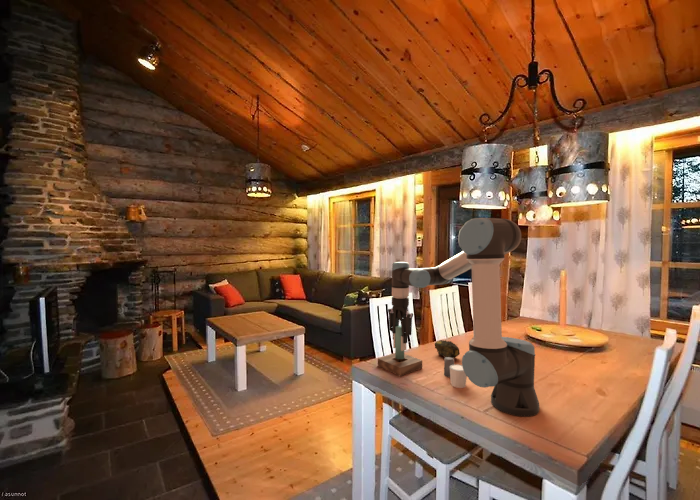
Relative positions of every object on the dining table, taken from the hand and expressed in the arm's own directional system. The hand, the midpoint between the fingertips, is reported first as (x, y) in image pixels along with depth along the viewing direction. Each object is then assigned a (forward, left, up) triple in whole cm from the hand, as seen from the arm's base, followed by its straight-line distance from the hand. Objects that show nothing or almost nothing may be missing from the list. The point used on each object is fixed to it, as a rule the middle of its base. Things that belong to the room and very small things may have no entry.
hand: (399, 348), depth 155 cm
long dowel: (0, 0, -4) cm, 4 cm away
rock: (-5, -28, -9) cm, 30 cm away
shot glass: (-27, -5, -9) cm, 29 cm away
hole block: (0, 0, -8) cm, 8 cm away
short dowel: (-19, -10, -8) cm, 23 cm away
